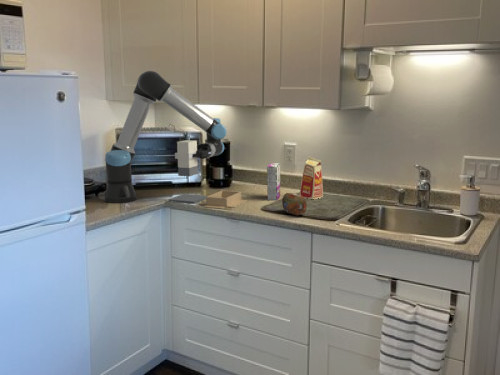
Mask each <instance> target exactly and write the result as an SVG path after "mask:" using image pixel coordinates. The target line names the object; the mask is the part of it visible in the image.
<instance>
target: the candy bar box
mask: <svg viewBox="0 0 500 375" xmlns="http://www.w3.org/2000/svg"><path fill="white" fill-rule="evenodd" d="M266 175H267V176H266V181H267V201H279V198H281V163H279V162H276V163H275V162H271V163H269V164H268V165H267V166H266Z"/></svg>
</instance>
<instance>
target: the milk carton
mask: <svg viewBox="0 0 500 375" xmlns="http://www.w3.org/2000/svg"><path fill="white" fill-rule="evenodd" d="M321 162H322V160H320V159H317V158H313V157H311V156H307V160H306V162H305V163H304V167H303V171H302V175H301V180H300V181H301V182H300V189H299V194H298V195H300V196H303V197H304V198H308V199H307V200H311V199H314V200H318V198H319V199H322V198H323V197H324V188H323V172H322V163H321ZM321 197H322V198H321Z"/></svg>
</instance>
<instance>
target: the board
mask: <svg viewBox="0 0 500 375" xmlns="http://www.w3.org/2000/svg"><path fill="white" fill-rule="evenodd" d="M207 196H208V195H202V194H189V193H183V194H180V195H176V196H174V197H172V198H168V202H169V201H173V202H172V203H180V202H183V203H182V204H190V205H191V204H195V205H196V204H197V203H199V202H202V201H204V200H205V201H206V197H207Z"/></svg>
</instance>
